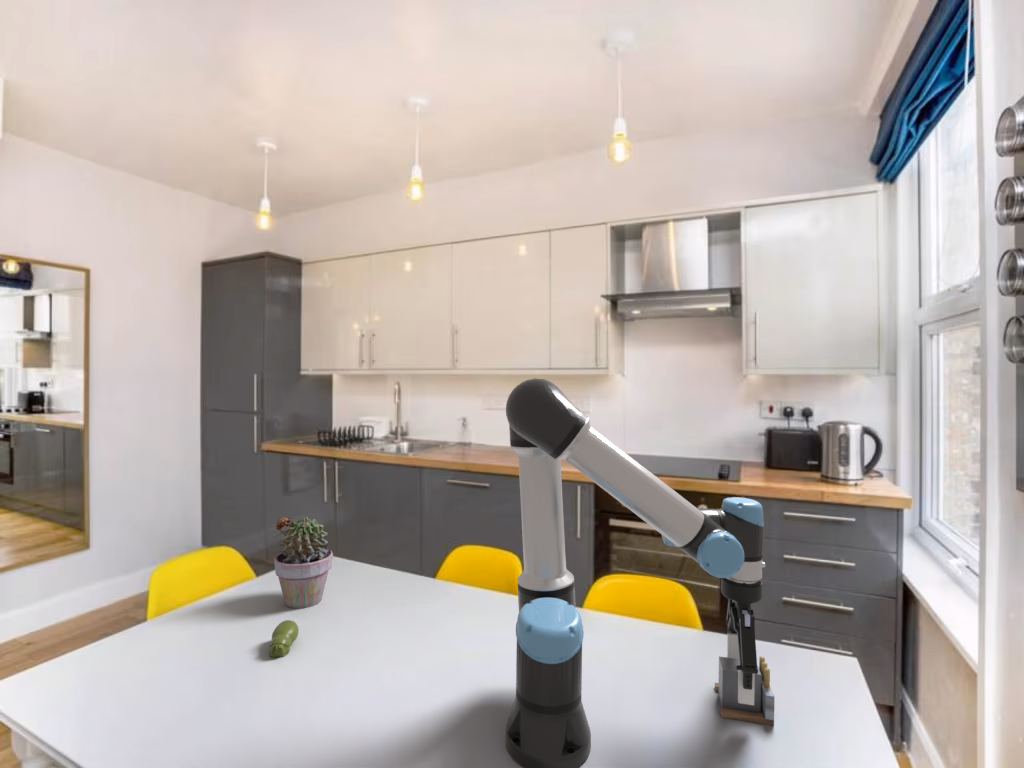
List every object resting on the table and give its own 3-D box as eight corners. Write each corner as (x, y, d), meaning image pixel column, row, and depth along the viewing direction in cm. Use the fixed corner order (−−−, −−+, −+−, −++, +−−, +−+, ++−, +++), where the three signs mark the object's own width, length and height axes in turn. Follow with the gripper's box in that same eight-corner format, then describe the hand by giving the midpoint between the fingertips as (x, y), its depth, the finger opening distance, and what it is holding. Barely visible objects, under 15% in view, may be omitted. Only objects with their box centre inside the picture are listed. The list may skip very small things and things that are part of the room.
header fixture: (773, 725, 97) (774, 678, 97) (721, 716, 100) (722, 670, 100) (762, 694, 107) (763, 651, 107) (714, 687, 109) (715, 644, 109)
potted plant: (354, 595, 153) (355, 511, 153) (296, 621, 136) (297, 526, 136) (315, 582, 162) (316, 502, 162) (256, 604, 146) (257, 516, 146)
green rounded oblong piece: (301, 615, 127) (288, 642, 118) (302, 635, 128) (288, 663, 118) (277, 616, 127) (262, 643, 117) (278, 635, 128) (263, 664, 118)
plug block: (760, 715, 100) (761, 674, 100) (722, 709, 102) (722, 669, 102) (755, 700, 105) (755, 661, 105) (718, 694, 107) (718, 656, 107)
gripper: (777, 605, 90) (775, 726, 90) (749, 558, 114) (747, 653, 115) (731, 600, 92) (729, 718, 92) (713, 554, 116) (711, 648, 116)
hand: (739, 682), depth 103 cm, fingers open, 13 cm apart
